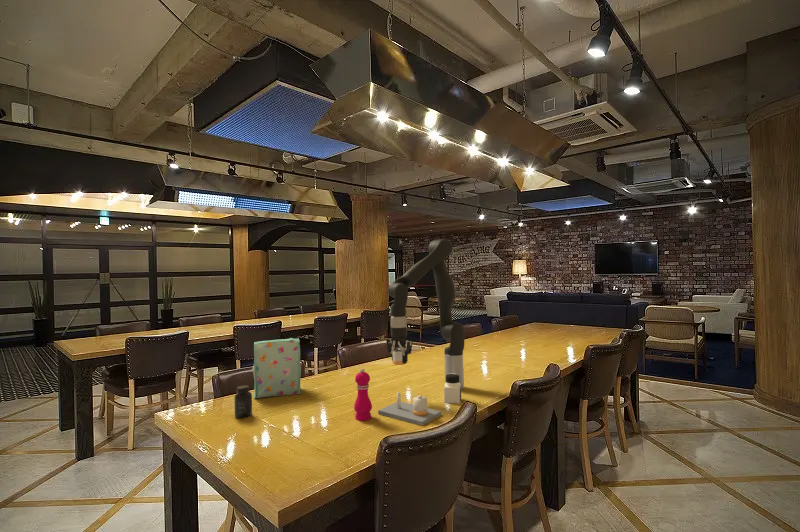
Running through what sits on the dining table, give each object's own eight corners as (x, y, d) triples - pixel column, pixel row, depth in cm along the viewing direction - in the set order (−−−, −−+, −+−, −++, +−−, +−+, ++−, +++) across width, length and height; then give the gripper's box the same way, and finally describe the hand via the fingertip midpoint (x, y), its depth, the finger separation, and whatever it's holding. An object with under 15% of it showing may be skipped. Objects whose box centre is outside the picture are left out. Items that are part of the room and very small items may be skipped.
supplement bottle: (255, 413, 165) (255, 385, 166) (244, 419, 159) (244, 389, 159) (242, 412, 168) (242, 384, 168) (230, 417, 161) (230, 388, 161)
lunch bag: (300, 386, 205) (299, 334, 206) (302, 395, 190) (301, 339, 190) (253, 391, 198) (252, 337, 198) (252, 401, 182) (251, 343, 183)
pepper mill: (358, 422, 153) (357, 371, 154) (351, 416, 160) (350, 367, 160) (374, 419, 157) (374, 369, 157) (367, 413, 163) (367, 365, 164)
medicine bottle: (460, 403, 173) (459, 376, 173) (444, 403, 175) (443, 376, 175) (461, 398, 180) (460, 372, 180) (445, 398, 182) (445, 372, 182)
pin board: (398, 404, 174) (398, 384, 174) (441, 414, 160) (440, 393, 160) (378, 413, 163) (377, 392, 163) (421, 425, 149) (421, 402, 149)
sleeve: (390, 364, 180) (390, 351, 180) (399, 361, 185) (398, 348, 186) (400, 365, 177) (399, 352, 177) (408, 362, 182) (408, 349, 182)
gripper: (416, 326, 180) (416, 362, 180) (391, 324, 189) (392, 359, 189) (406, 328, 174) (407, 366, 174) (381, 326, 183) (382, 362, 183)
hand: (399, 362), depth 181 cm, fingers closed on sleeve, 5 cm apart
